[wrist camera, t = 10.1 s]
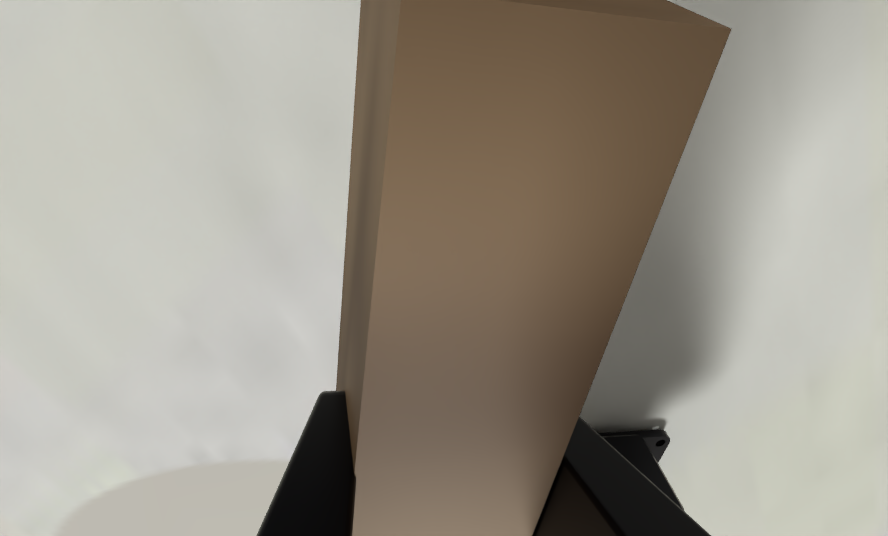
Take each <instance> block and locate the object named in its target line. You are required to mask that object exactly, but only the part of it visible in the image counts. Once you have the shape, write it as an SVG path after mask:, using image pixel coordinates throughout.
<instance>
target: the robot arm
mask: <svg viewBox="0 0 888 536" xmlns="http://www.w3.org/2000/svg"><path fill="white" fill-rule="evenodd" d="M669 442H670V438H669V436H668V435H667V433H666V431H664V430H649V431H632V432H615V433H597V432H596V431H595V430H594V429H592V428H591V427H590V426H589V425H588V424H587V423H586V422H585V421H584V420H583V419H581V418H580V417H579V418H578V420H577V423H576V425H575V428H574V430H573V433H572V435H571V438H570V441H569V443H568V446H567V448H566V451H565V453H564V456H563V458H562V461H561V463H560V466H559V468H558V471H557V474H556V476H555V479H554V481H553V484H552V486H551V489H550V491H549V494H548V496H547V499H546V502H545V504H544V507H543V509H542V512H541V514H540V517H539V519H538V522H537V524H536V527H535V529H534V532H533V535H532V536H711V535H710V534H709V533H707V532H706V531H705V530H704V529H703V528H702V527H701V526H700V525H699V524H698V523H696V522H695V521H694V520H693V519H692V518H691V517H690V516H689V515H688V514H686V513H685V511H684V508H683V506H682V505H681V503H680V501H679V499H678V498H677V496H676V494H675V492H674V491H673V489H672V487H671V485H670V484H669V482H668V480H667V478H666V477H665V475H664V473H663V471H662V470H661V468H660V466H659V464H658V462H659V460H660V459H661V457H662V455H663V453H664V451H665V450H666V448H667V446H668V444H669ZM355 492H356V477H355V476H354V468H353V459H352V450H351V440H350V431H349V422H348V413H347V404H346V395H345V391H324V392H322V393H321V394H320V395H319V397H318V399H317V401H316V403H315V406H314V408H313V410H312V412H311V415H310V417H309V419H308V421H307V424H306V426H305V428H304V430H303V433H302V435H301V437H300V439H299V442H298V444H297V446H296V448H295V451H294V453H293V455H292V457H291V460H290V462H289V464H288V466H287V469H286V471H285V473H284V475H283V478H282V480H281V482H280V484H279V487H278V489H277V491H276V493H275V496H274V498H273V500H272V502H271V505H270V507H269V509H268V512H267V513H266V516H265V518H264V520H263V522H262V525H261V527H260V529H259V532H258V534H257V536H352V533H353V520H354V506H355Z"/></svg>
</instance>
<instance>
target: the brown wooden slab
mask: <svg viewBox="0 0 888 536" xmlns="http://www.w3.org/2000/svg"><path fill="white" fill-rule="evenodd" d="M730 31H731V29H730V28H728V27H726V26H723V25H721V24H719V23H717V22H714V21H712V20H710V19H708V18H705V17H703V16H701V15H699V14H696V13H694V12H692V11H690V10H687V9H685V8H683V7H681V6H678V5H676V4H674V3H672V2H669V1H667V0H361V7H360V23H359V39H358V55H357V70H356V86H355V102H354V117H353V133H352V149H351V165H350V180H349V196H348V212H347V227H346V243H345V259H344V275H343V290H342V306H341V322H340V337H339V353H338V369H337V385H336V391H345V395H346V404H347V413H348V422H349V431H350V440H351V450H352V459H353V468H354V476H355V477H356V492H355V506H354V520H353V533H352V536H532V535H533V532H534V529H535V527H536V524H537V522H538V519H539V517H540V514H541V512H542V509H543V507H544V504H545V502H546V499H547V496H548V494H549V491H550V489H551V486H552V484H553V481H554V479H555V476H556V474H557V471H558V468H559V466H560V463H561V461H562V458H563V456H564V453H565V451H566V448H567V446H568V443H569V441H570V438H571V435H572V433H573V430H574V428H575V425H576V423H577V420H578V418H579V415H580V413H581V410H582V407H583V405H584V402H585V400H586V397H587V395H588V392H589V390H590V387H591V385H592V382H593V379H594V377H595V374H596V372H597V369H598V367H599V364H600V362H601V359H602V357H603V354H604V352H605V349H606V346H607V344H608V341H609V339H610V336H611V334H612V331H613V329H614V326H615V324H616V321H617V318H618V316H619V313H620V311H621V308H622V306H623V303H624V301H625V298H626V296H627V293H628V291H629V288H630V285H631V283H632V280H633V278H634V275H635V273H636V270H637V268H638V265H639V263H640V260H641V257H642V255H643V252H644V250H645V247H646V245H647V242H648V240H649V237H650V235H651V232H652V229H653V227H654V224H655V222H656V219H657V217H658V214H659V212H660V209H661V207H662V204H663V202H664V199H665V196H666V194H667V191H668V189H669V186H670V184H671V181H672V179H673V176H674V174H675V171H676V168H677V166H678V163H679V161H680V158H681V156H682V153H683V151H684V148H685V146H686V143H687V141H688V138H689V135H690V133H691V130H692V128H693V125H694V123H695V120H696V118H697V115H698V113H699V110H700V107H701V105H702V102H703V100H704V97H705V95H706V92H707V90H708V87H709V85H710V82H711V80H712V77H713V74H714V72H715V69H716V67H717V64H718V62H719V59H720V57H721V54H722V52H723V49H724V46H725V44H726V41H727V39H728V36H729V34H730Z"/></svg>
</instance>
